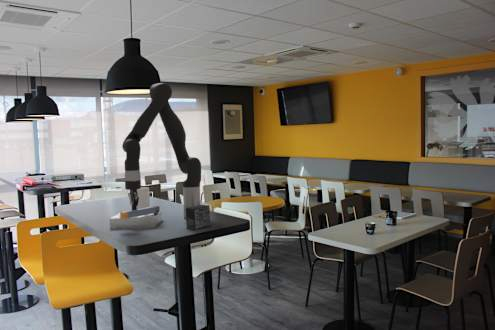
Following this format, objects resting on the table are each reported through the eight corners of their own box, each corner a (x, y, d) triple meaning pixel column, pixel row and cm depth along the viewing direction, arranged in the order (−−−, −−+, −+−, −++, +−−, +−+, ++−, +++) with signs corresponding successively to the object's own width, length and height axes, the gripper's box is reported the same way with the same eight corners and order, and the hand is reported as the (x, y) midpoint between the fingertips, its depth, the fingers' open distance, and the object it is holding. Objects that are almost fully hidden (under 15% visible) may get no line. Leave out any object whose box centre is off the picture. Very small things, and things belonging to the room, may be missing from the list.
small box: (201, 225, 198) (201, 204, 198) (211, 226, 194) (210, 205, 194) (185, 229, 190) (185, 207, 190) (195, 230, 186) (194, 208, 186)
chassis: (162, 220, 214) (161, 209, 214) (155, 227, 196) (154, 216, 196) (120, 221, 213) (120, 211, 213) (110, 228, 195) (109, 217, 195)
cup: (146, 216, 225) (145, 188, 224) (133, 216, 226) (131, 188, 225) (152, 214, 233) (151, 187, 232) (139, 214, 234) (138, 187, 233)
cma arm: (156, 211, 207) (156, 205, 207) (161, 211, 205) (160, 205, 205) (120, 218, 189) (119, 212, 189) (124, 219, 187) (124, 212, 187)
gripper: (122, 178, 200) (124, 212, 202) (127, 181, 189) (129, 217, 190) (137, 177, 204) (139, 211, 205) (143, 180, 192) (145, 215, 194)
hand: (134, 213), depth 198 cm, fingers closed
